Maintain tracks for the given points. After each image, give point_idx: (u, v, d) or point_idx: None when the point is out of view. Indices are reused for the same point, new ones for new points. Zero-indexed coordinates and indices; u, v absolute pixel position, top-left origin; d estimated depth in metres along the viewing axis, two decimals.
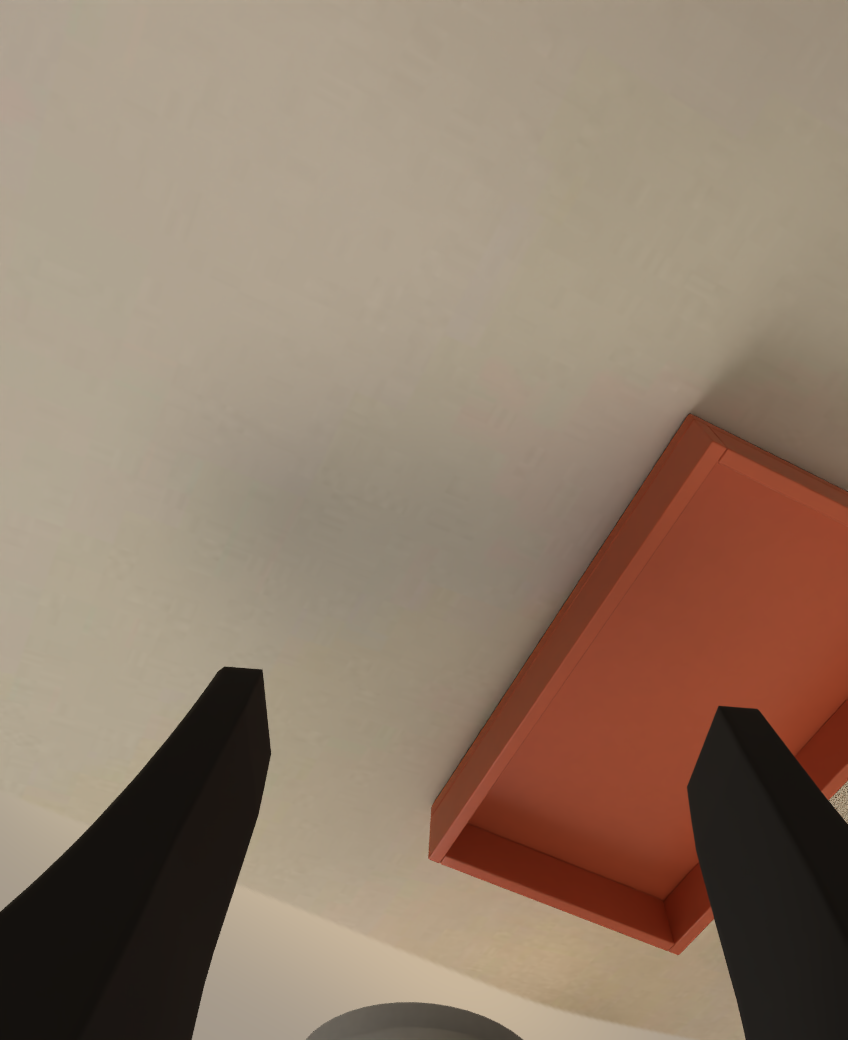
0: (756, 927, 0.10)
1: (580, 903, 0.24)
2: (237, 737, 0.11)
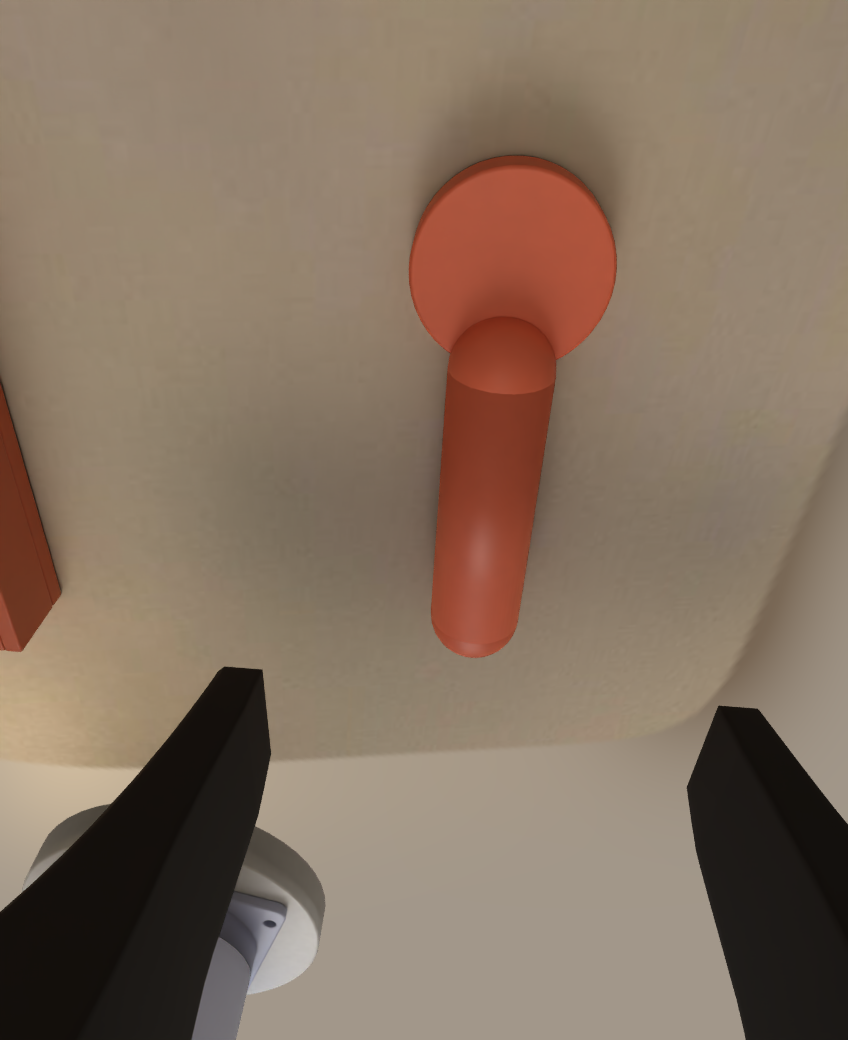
0: (756, 927, 0.10)
1: None
2: (237, 737, 0.11)
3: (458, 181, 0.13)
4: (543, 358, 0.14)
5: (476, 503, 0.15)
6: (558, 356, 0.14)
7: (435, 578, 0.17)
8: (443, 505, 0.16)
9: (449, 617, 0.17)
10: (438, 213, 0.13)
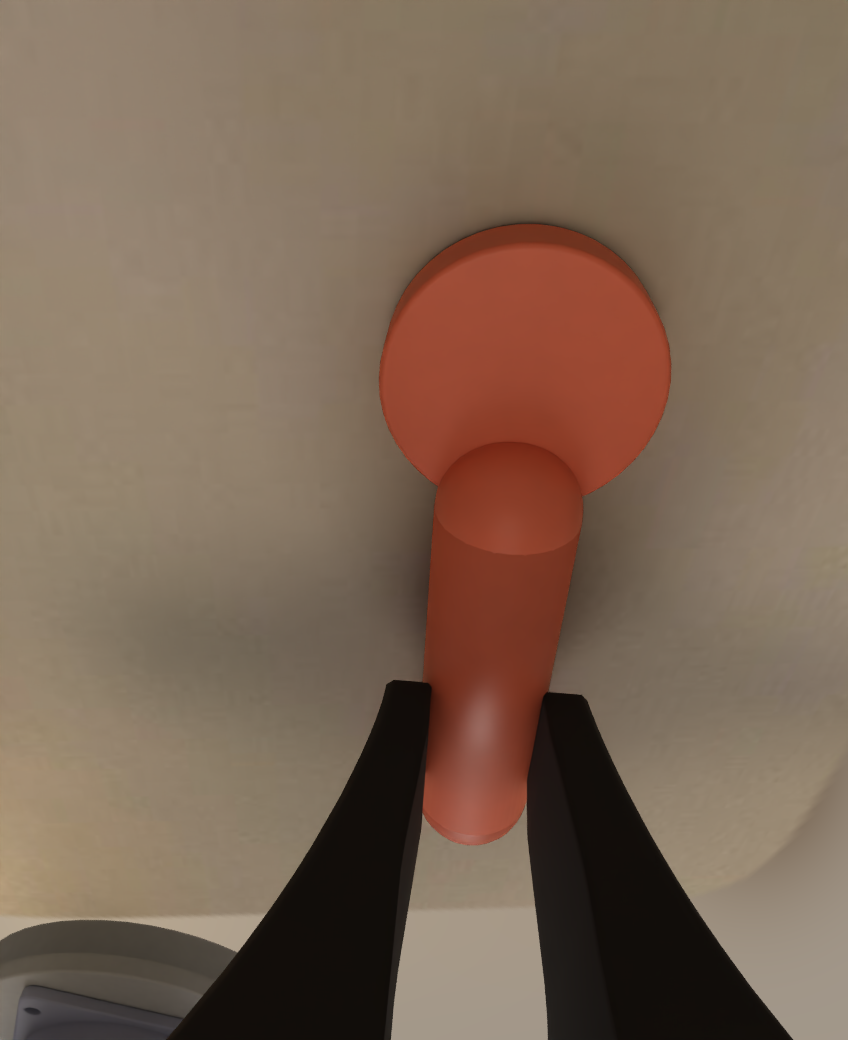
0: (554, 910, 0.10)
1: None
2: (424, 752, 0.11)
3: (447, 263, 0.09)
4: (566, 503, 0.10)
5: (473, 681, 0.11)
6: (585, 492, 0.10)
7: None
8: (429, 674, 0.12)
9: (438, 802, 0.13)
10: (419, 308, 0.09)
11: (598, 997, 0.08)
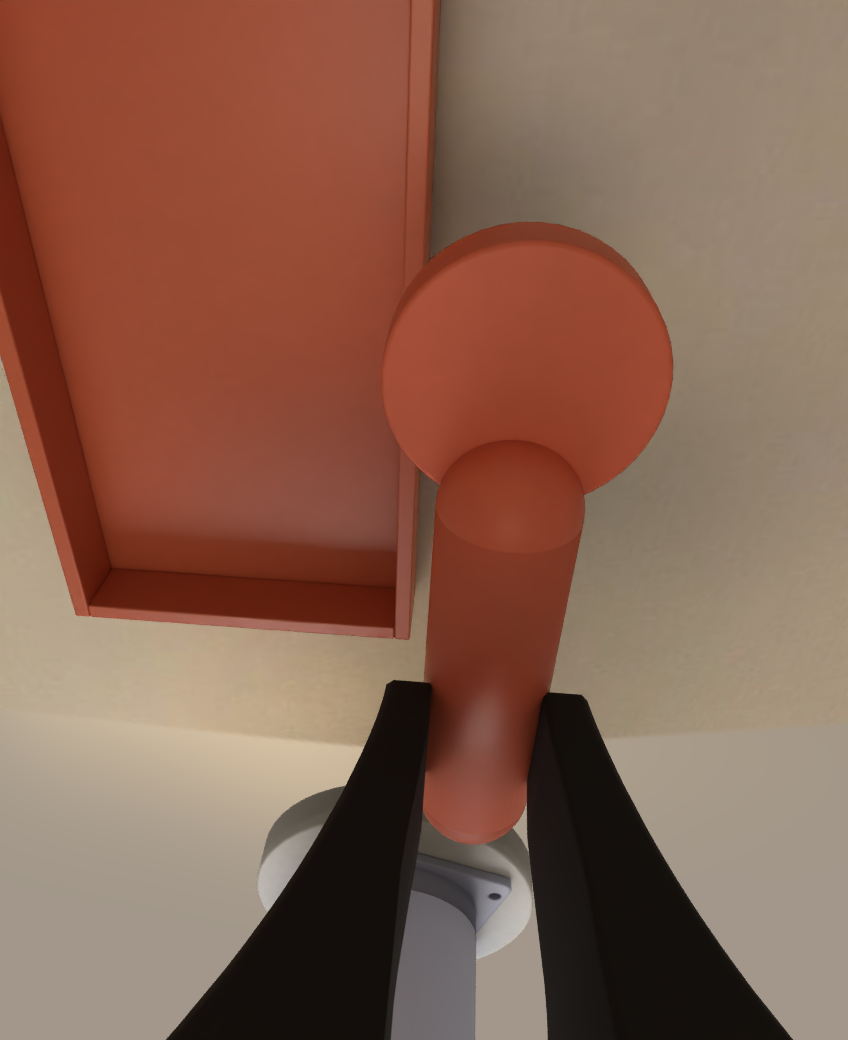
0: (554, 909, 0.10)
1: (266, 614, 0.20)
2: (424, 752, 0.11)
3: (449, 261, 0.09)
4: (568, 501, 0.10)
5: (474, 681, 0.11)
6: (587, 490, 0.10)
7: None
8: (431, 673, 0.12)
9: (440, 801, 0.13)
10: (420, 306, 0.09)
11: (598, 997, 0.08)
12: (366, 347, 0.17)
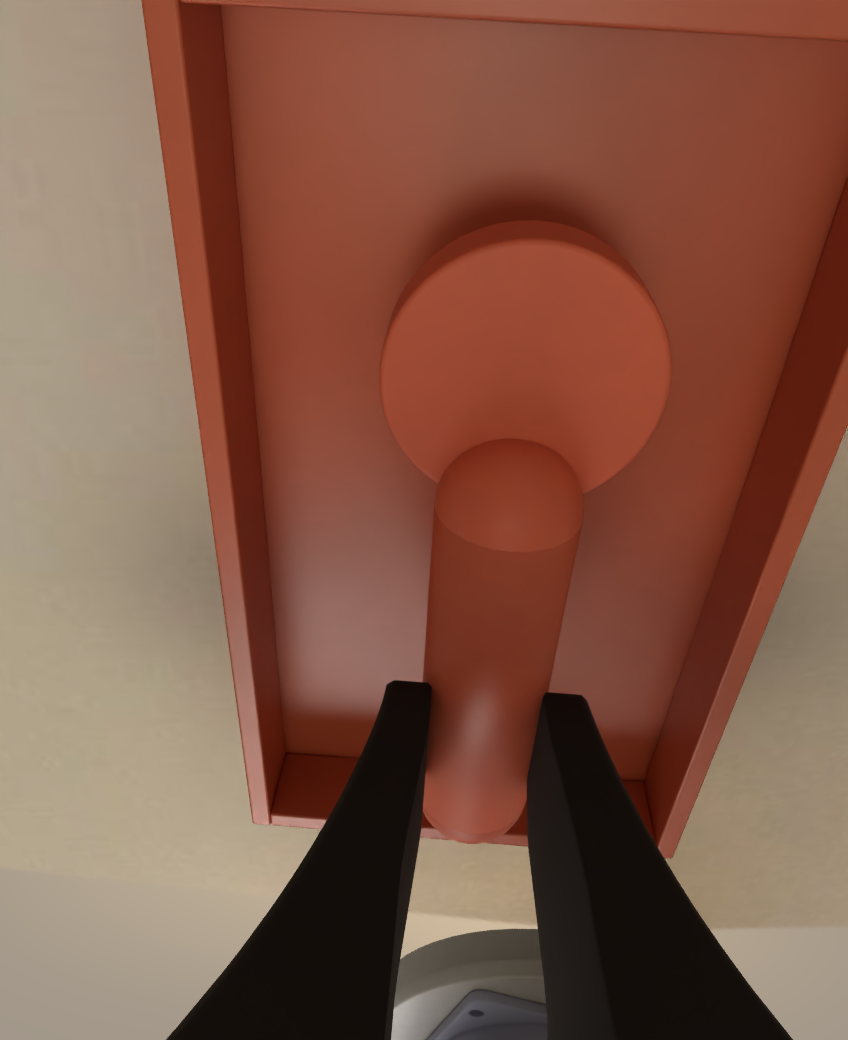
0: (554, 910, 0.10)
1: None
2: (424, 752, 0.11)
3: (447, 260, 0.09)
4: (567, 500, 0.10)
5: (473, 680, 0.11)
6: (587, 489, 0.10)
7: None
8: (430, 672, 0.12)
9: (439, 800, 0.13)
10: (419, 304, 0.09)
11: (598, 997, 0.08)
12: (676, 523, 0.13)
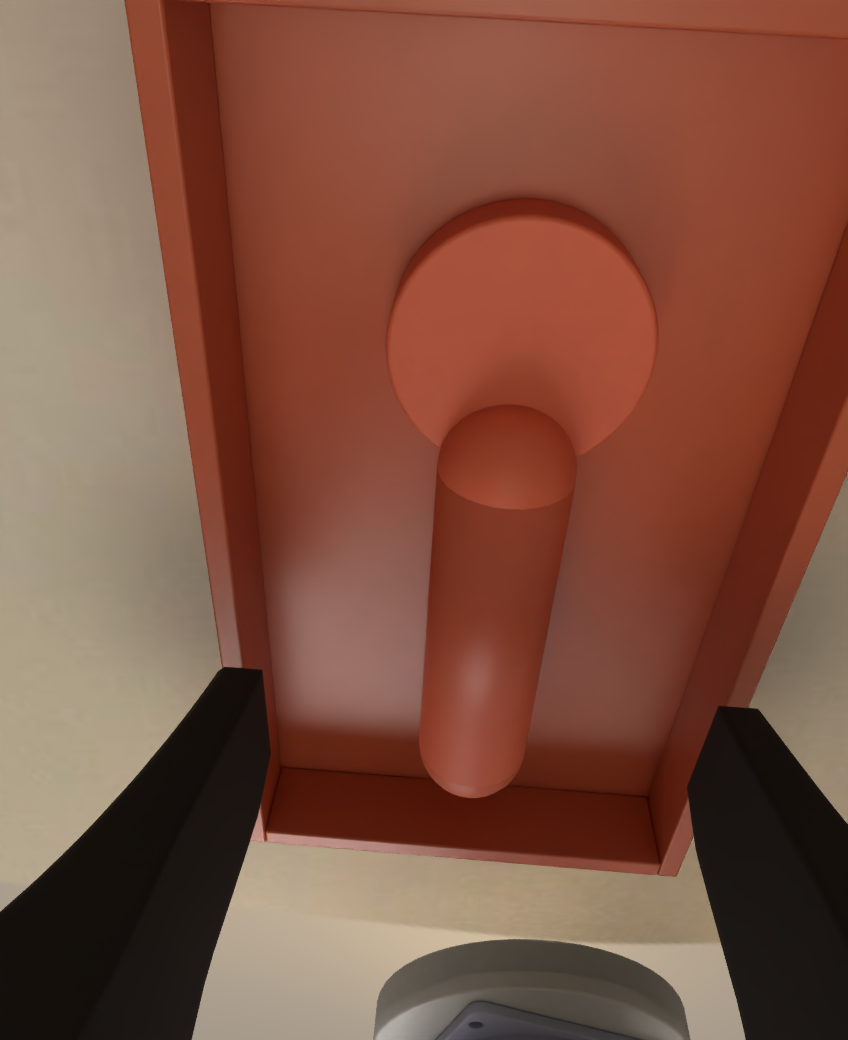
0: (756, 927, 0.10)
1: (493, 843, 0.16)
2: (237, 737, 0.11)
3: (449, 235, 0.10)
4: (561, 461, 0.10)
5: (474, 634, 0.12)
6: (579, 453, 0.11)
7: (423, 707, 0.14)
8: (432, 629, 0.12)
9: (441, 755, 0.14)
10: (423, 276, 0.10)
11: None
12: (681, 536, 0.13)
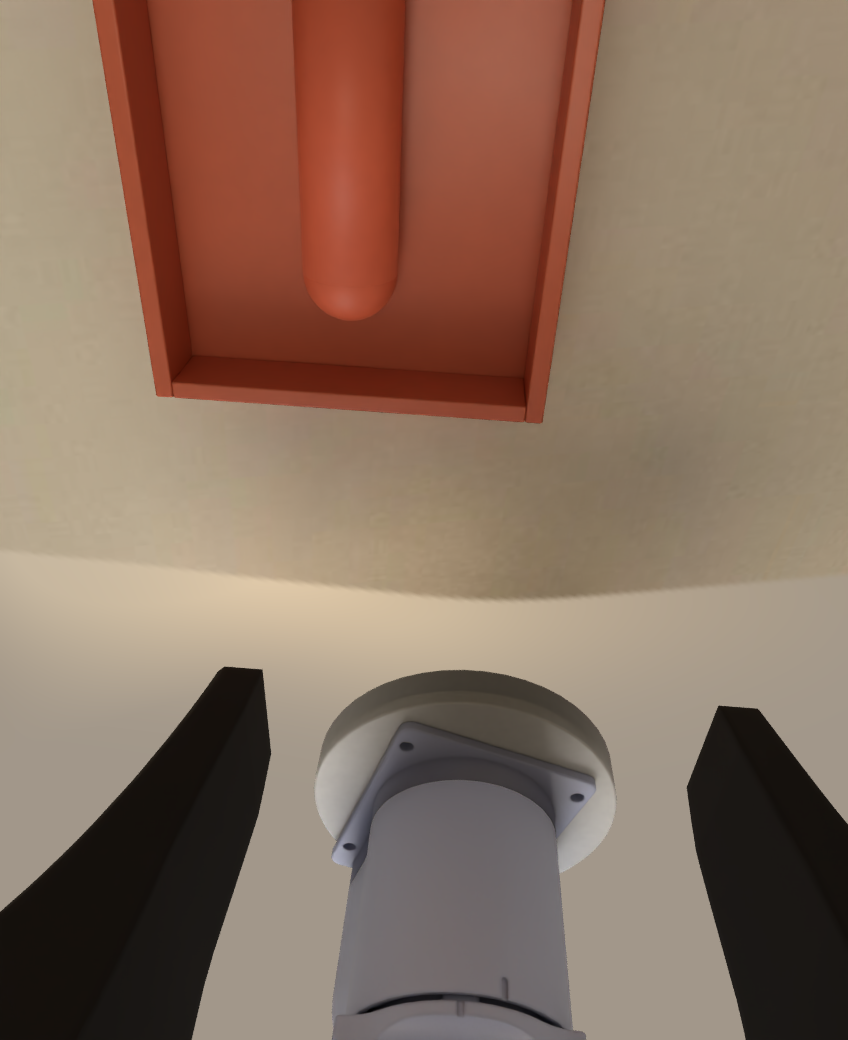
0: (756, 927, 0.10)
1: (377, 393, 0.17)
2: (237, 737, 0.11)
3: None
4: None
5: (326, 77, 0.14)
6: None
7: (300, 212, 0.15)
8: (297, 99, 0.14)
9: (315, 255, 0.15)
10: None
11: None
12: (520, 35, 0.15)
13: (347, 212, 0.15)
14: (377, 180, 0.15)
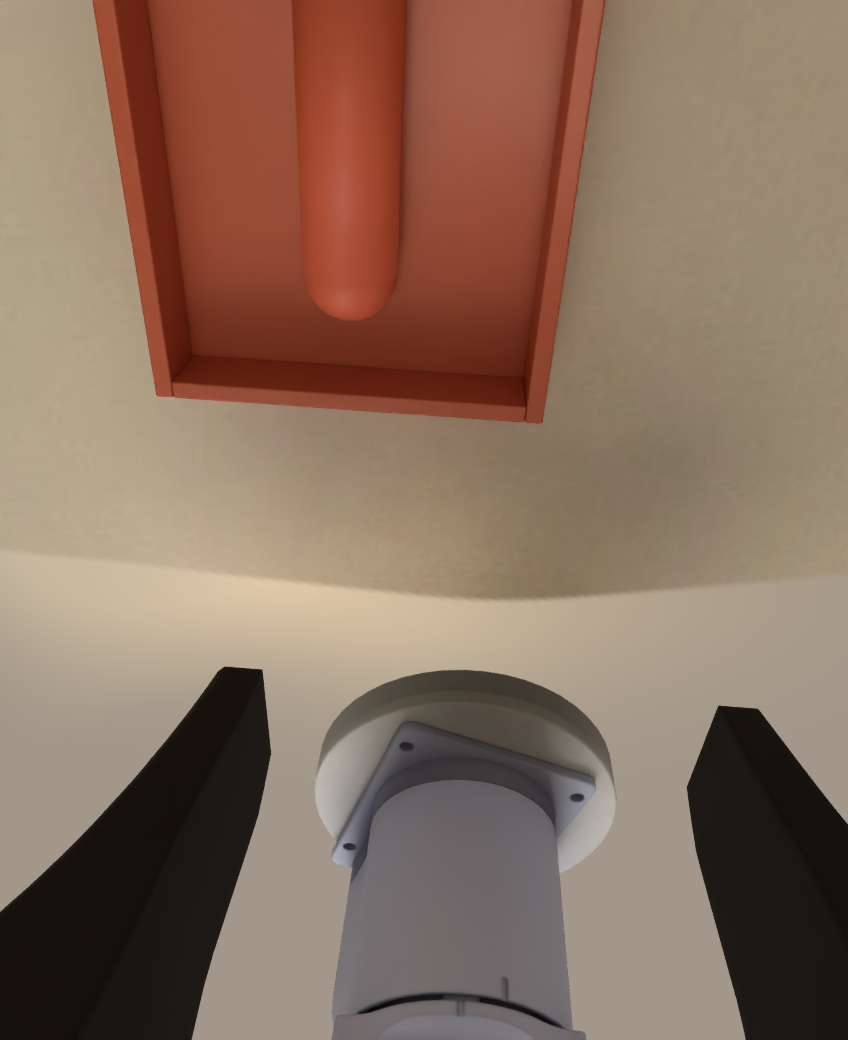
0: (756, 927, 0.10)
1: (377, 393, 0.17)
2: (237, 737, 0.11)
3: None
4: None
5: (326, 77, 0.14)
6: None
7: (300, 212, 0.15)
8: (297, 99, 0.14)
9: (315, 255, 0.15)
10: None
11: None
12: (520, 35, 0.15)
13: (347, 212, 0.15)
14: (377, 180, 0.15)
